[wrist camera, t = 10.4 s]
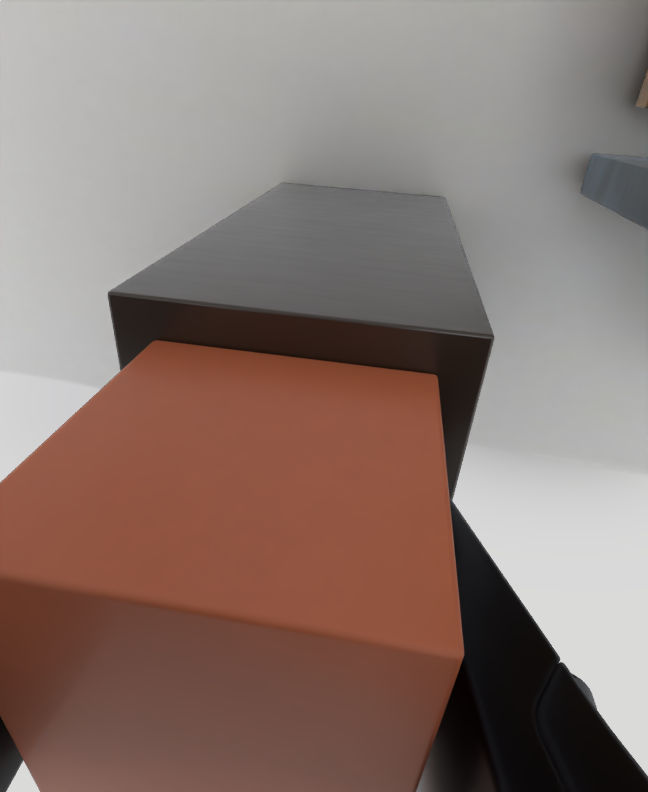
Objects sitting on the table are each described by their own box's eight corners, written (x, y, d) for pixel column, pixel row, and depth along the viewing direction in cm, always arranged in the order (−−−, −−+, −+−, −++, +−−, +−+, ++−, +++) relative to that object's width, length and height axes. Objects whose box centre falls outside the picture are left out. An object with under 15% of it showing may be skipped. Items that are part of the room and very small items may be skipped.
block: (397, 572, 10) (389, 876, 6) (179, 537, 10) (40, 798, 7) (438, 373, 8) (468, 657, 4) (153, 338, 8) (-89, 559, 4)
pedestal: (418, 348, 21) (426, 601, 10) (279, 332, 21) (151, 555, 11) (445, 196, 18) (495, 336, 7) (281, 182, 18) (105, 291, 8)
